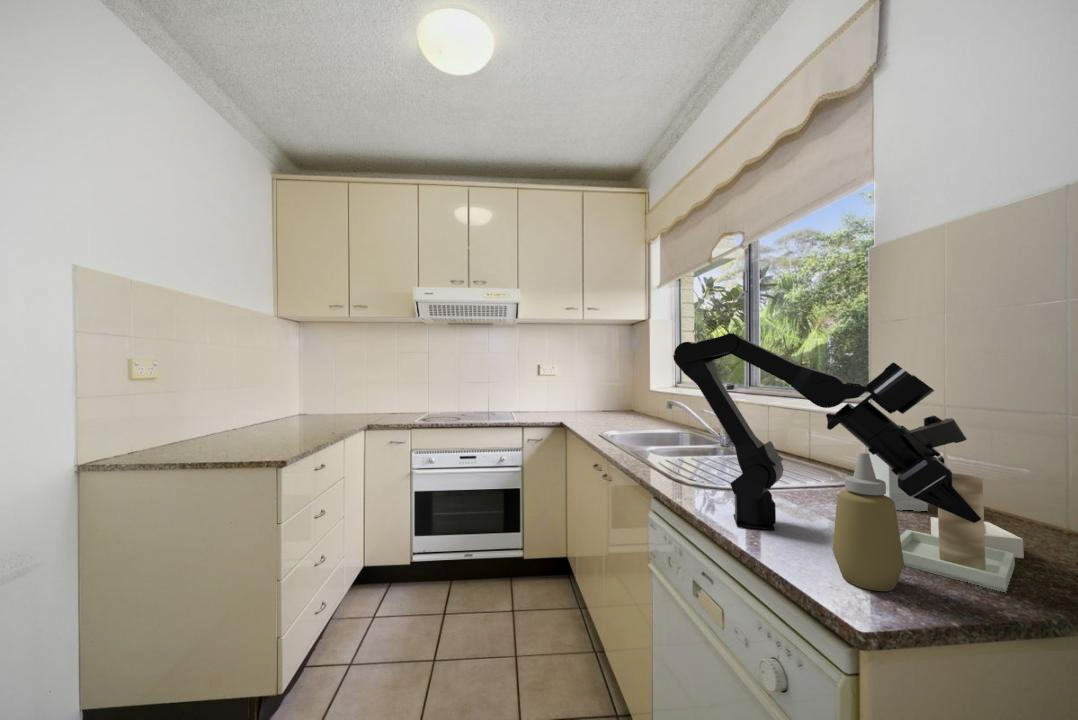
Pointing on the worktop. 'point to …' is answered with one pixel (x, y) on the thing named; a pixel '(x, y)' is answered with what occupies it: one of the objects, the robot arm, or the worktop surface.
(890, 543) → the squeeze bottle
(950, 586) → the worktop surface
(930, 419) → the robot arm
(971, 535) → the maple dowel
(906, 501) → the supplement box
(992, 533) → the socket block
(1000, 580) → the sage tray
